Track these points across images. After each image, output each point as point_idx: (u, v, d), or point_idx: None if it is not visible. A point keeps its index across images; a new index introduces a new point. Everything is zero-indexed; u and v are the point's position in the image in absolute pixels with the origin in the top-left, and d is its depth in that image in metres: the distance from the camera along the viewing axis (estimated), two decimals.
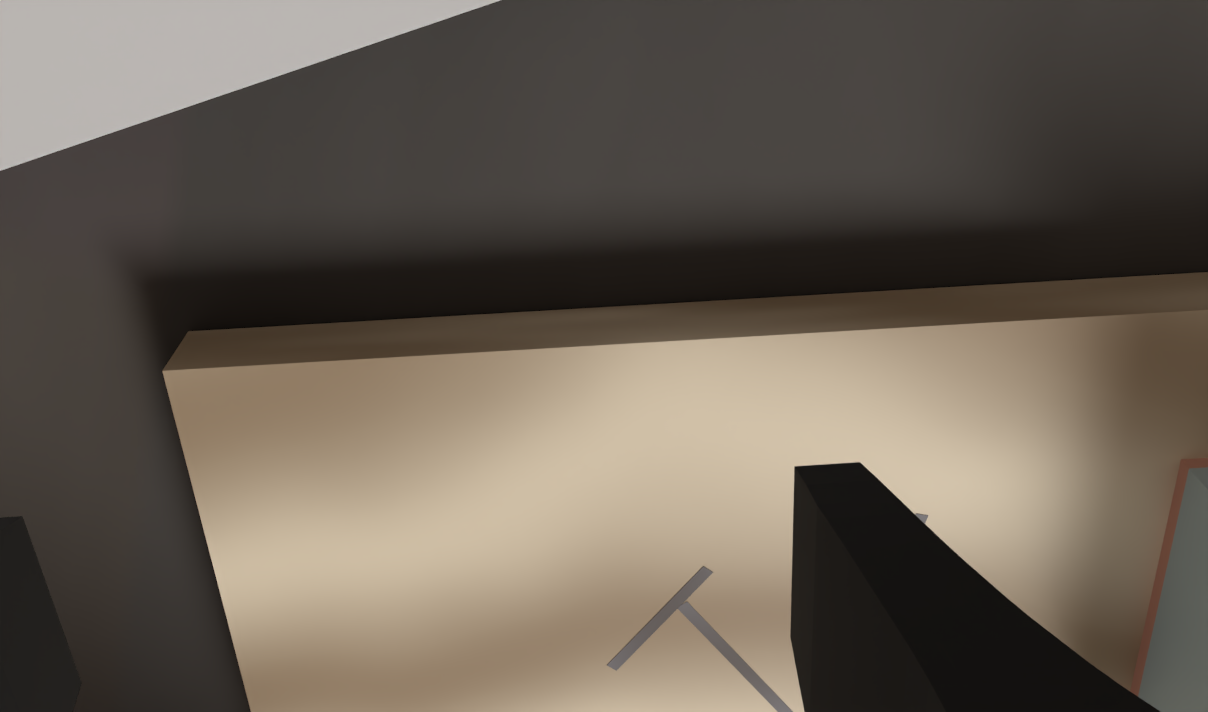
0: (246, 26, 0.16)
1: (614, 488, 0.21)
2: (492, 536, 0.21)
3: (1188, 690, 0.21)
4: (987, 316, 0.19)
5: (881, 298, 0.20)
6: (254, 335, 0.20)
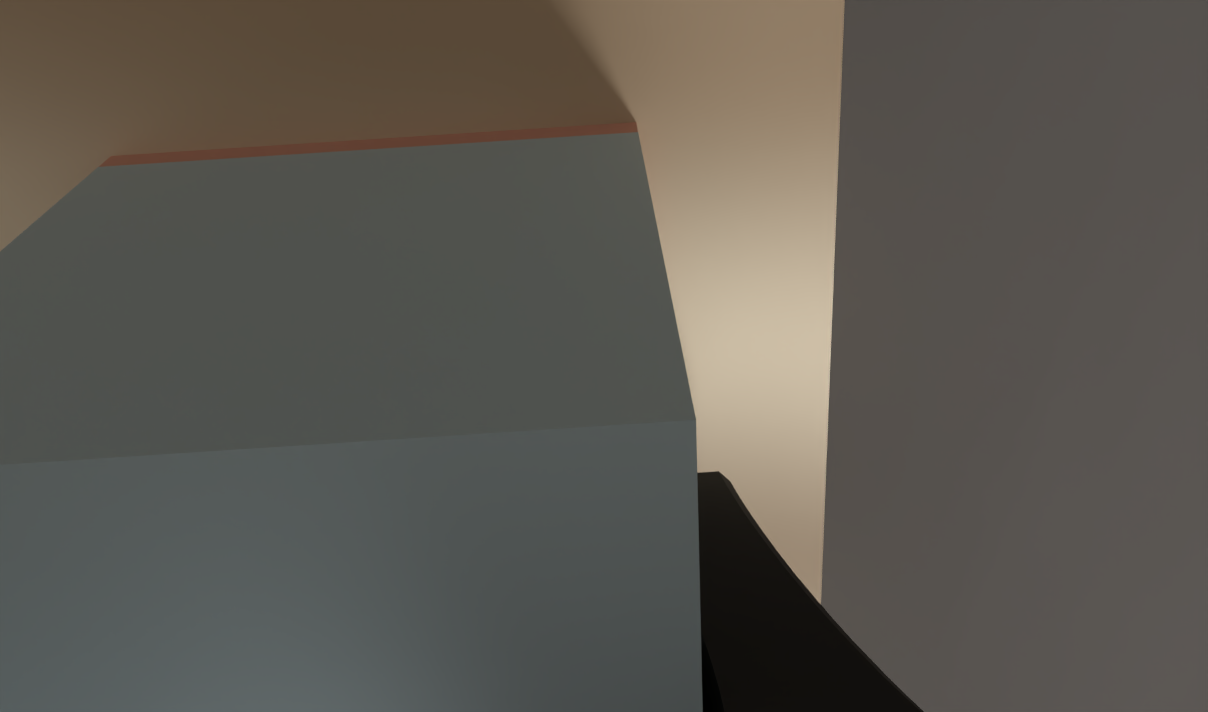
0: None
1: None
2: None
3: None
4: None
5: None
6: None
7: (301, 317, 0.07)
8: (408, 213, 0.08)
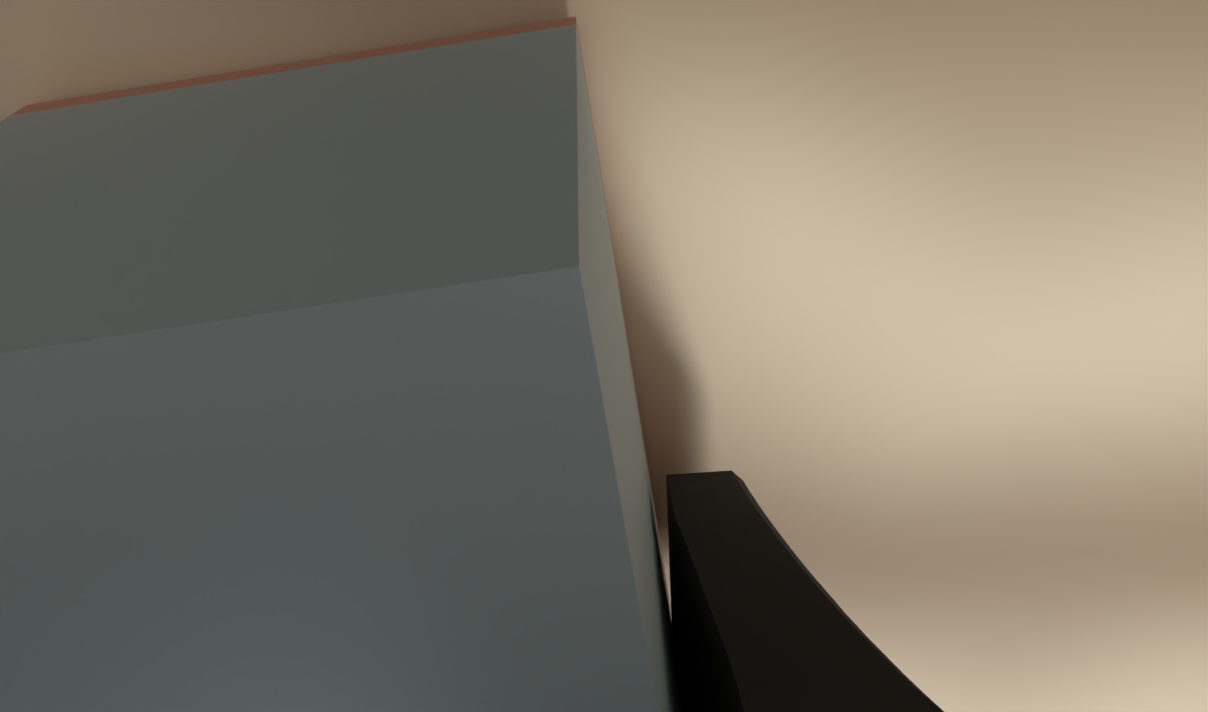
0: None
1: None
2: None
3: None
4: None
5: None
6: None
7: (171, 219, 0.06)
8: (314, 118, 0.07)
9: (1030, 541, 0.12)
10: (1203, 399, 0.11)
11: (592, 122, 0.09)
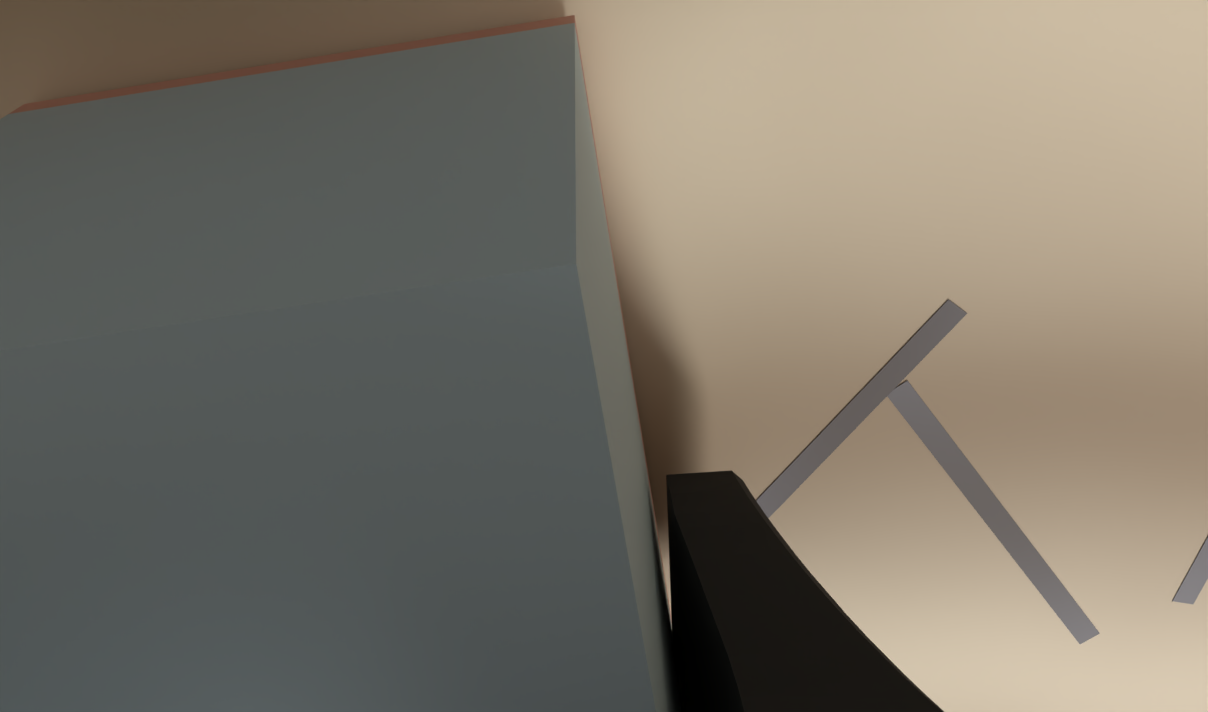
0: None
1: (777, 108, 0.10)
2: None
3: None
4: None
5: None
6: None
7: (171, 217, 0.06)
8: (312, 116, 0.07)
9: None
10: None
11: (591, 121, 0.09)
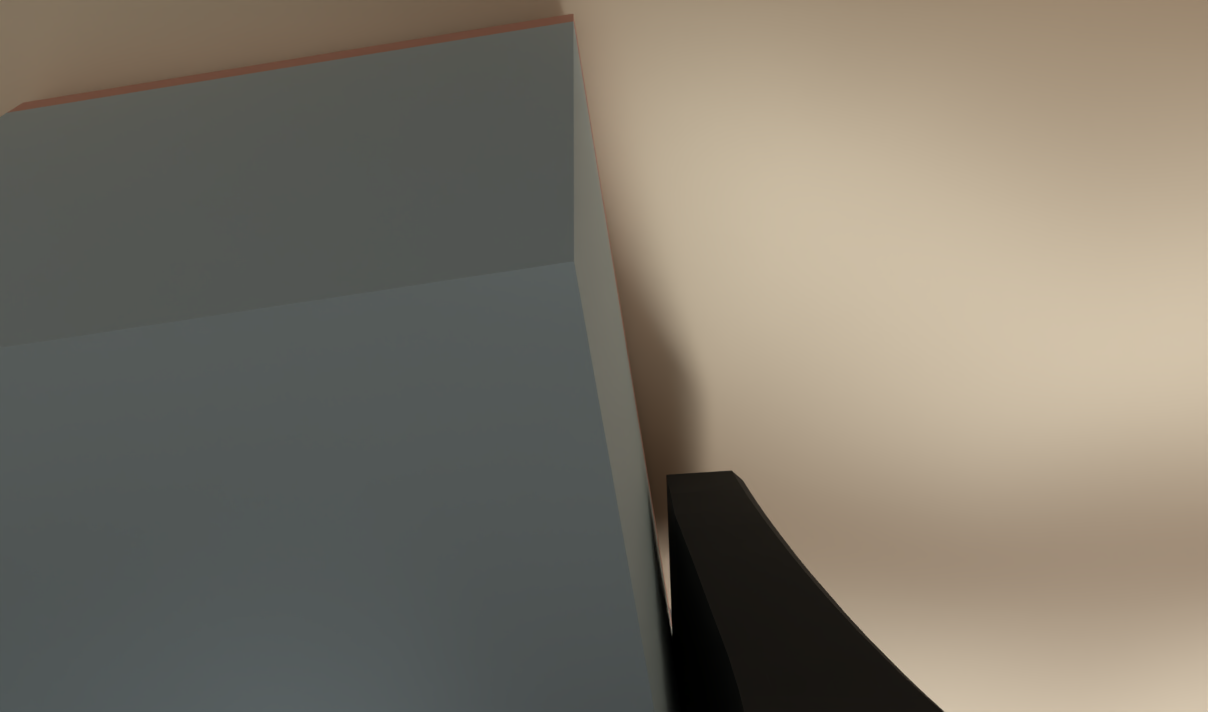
0: None
1: None
2: None
3: None
4: None
5: None
6: None
7: (166, 215, 0.06)
8: (310, 115, 0.07)
9: (1104, 542, 0.12)
10: None
11: (589, 119, 0.09)
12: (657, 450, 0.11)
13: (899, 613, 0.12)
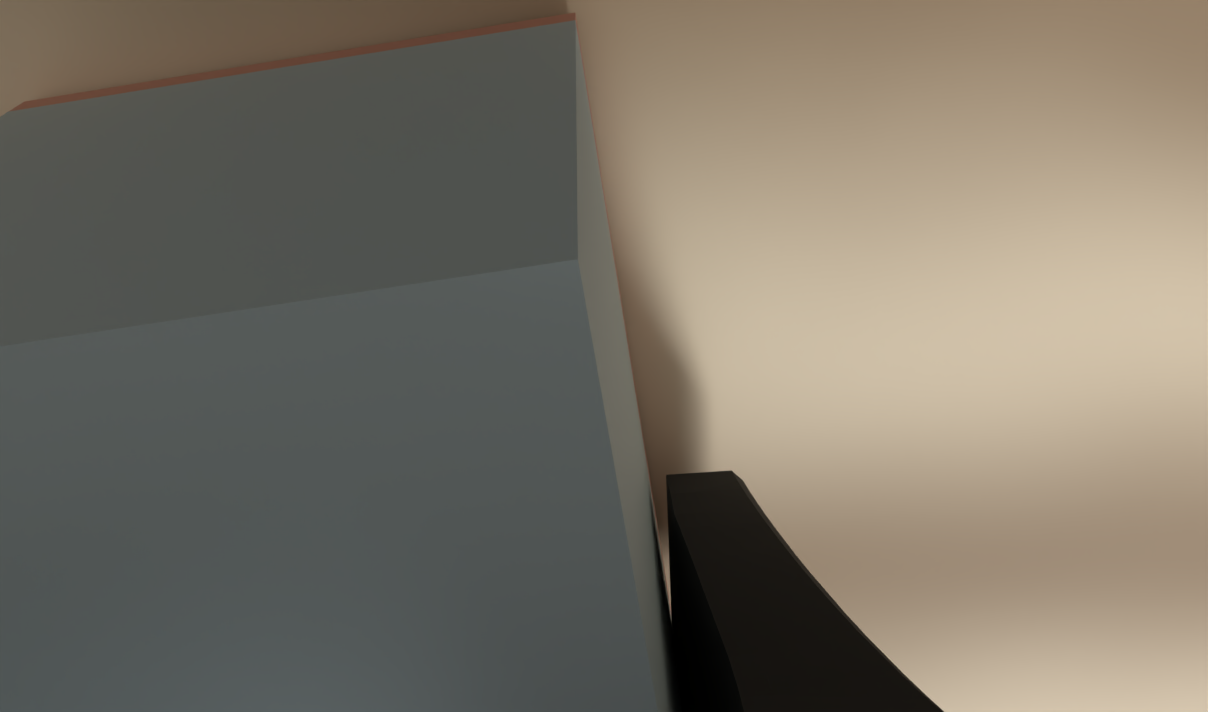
0: None
1: None
2: None
3: None
4: None
5: None
6: None
7: (170, 213, 0.06)
8: (312, 113, 0.07)
9: (857, 553, 0.12)
10: (1018, 412, 0.11)
11: (591, 118, 0.09)
12: None
13: None
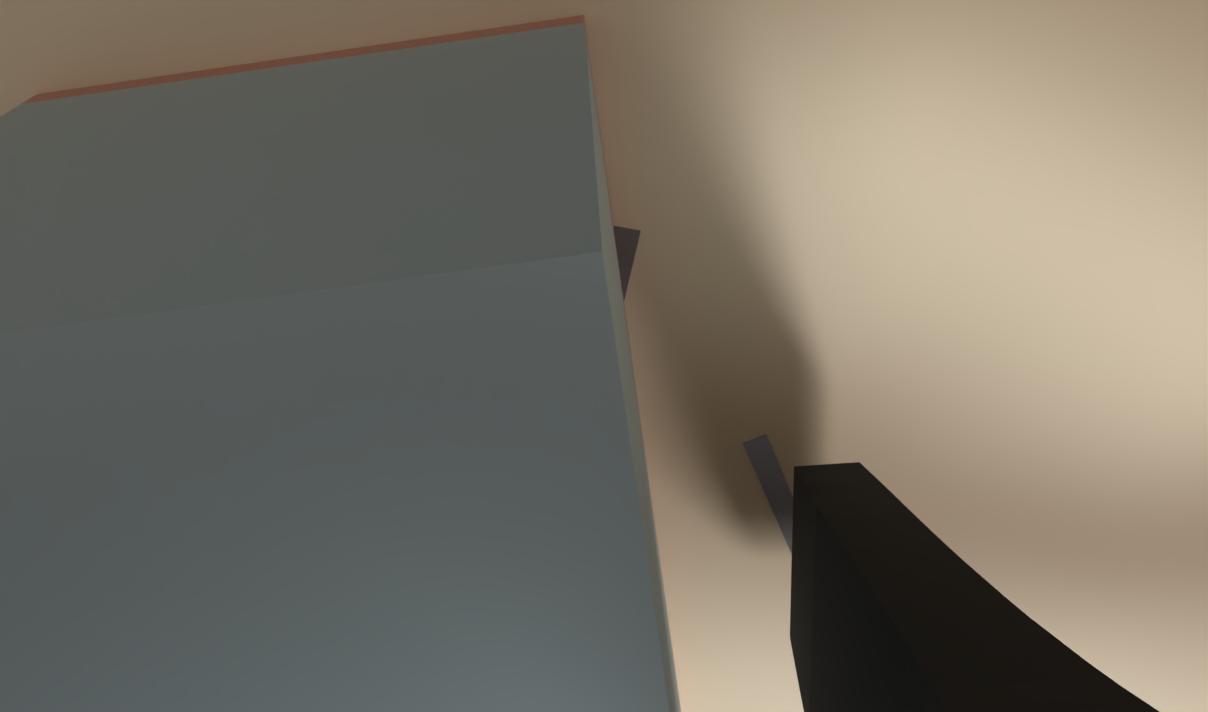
0: None
1: None
2: None
3: None
4: None
5: None
6: None
7: (194, 204, 0.06)
8: (329, 109, 0.07)
9: None
10: None
11: (598, 120, 0.09)
12: (836, 437, 0.11)
13: (1063, 600, 0.12)
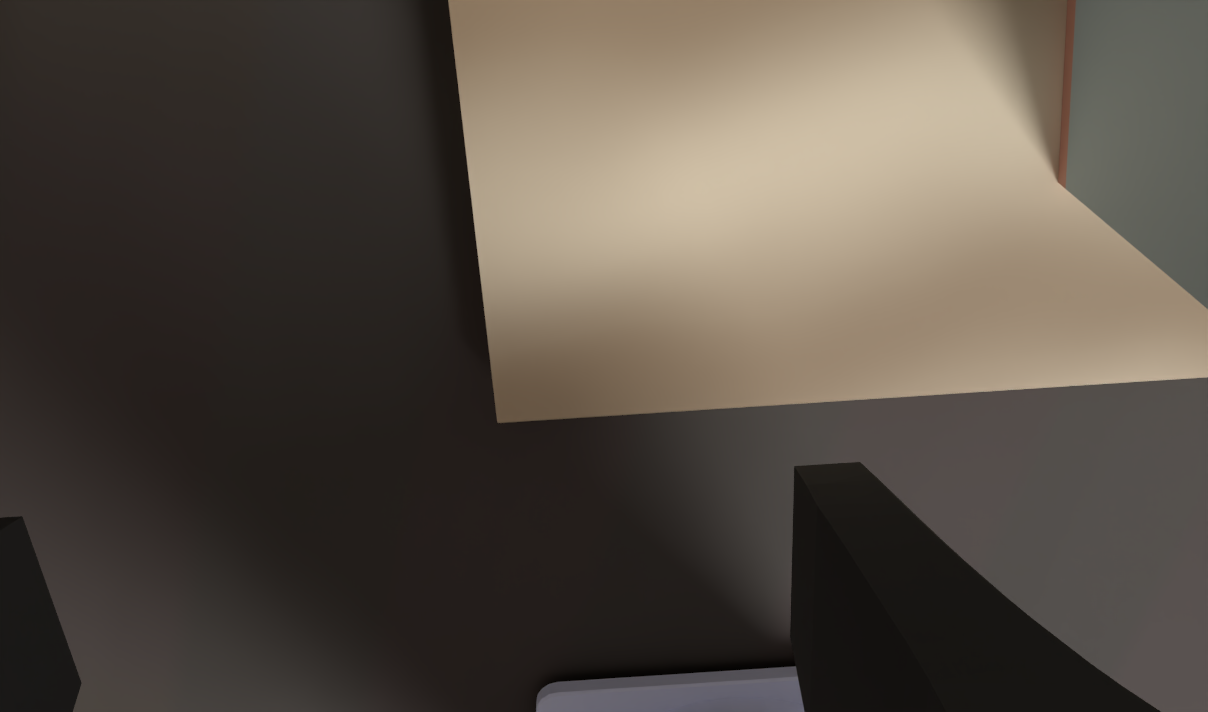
0: None
1: None
2: None
3: None
4: None
5: None
6: None
7: None
8: None
9: None
10: None
11: None
12: None
13: None
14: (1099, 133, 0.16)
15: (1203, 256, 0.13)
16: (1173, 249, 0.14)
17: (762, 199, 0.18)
